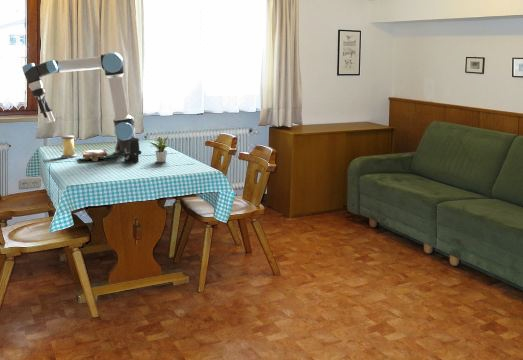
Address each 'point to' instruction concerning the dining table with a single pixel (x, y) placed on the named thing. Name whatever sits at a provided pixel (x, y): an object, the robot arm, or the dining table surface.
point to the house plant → (160, 149)
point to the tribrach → (94, 154)
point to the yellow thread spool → (68, 147)
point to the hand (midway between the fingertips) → (50, 122)
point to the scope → (133, 151)
